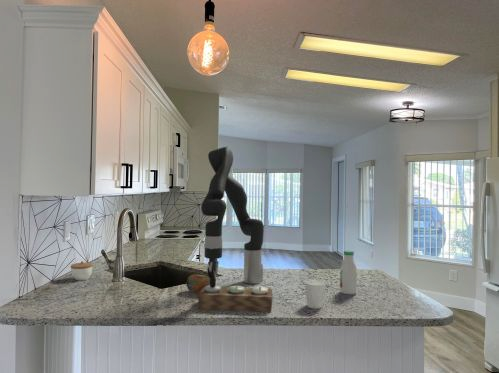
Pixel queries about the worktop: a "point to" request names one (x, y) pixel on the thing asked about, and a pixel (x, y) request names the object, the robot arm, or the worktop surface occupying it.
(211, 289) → the grey knob
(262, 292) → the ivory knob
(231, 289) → the sage knob
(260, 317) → the worktop surface
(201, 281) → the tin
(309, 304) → the white cup
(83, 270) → the lidded jar
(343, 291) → the milk bottle
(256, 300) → the brown wooden block
